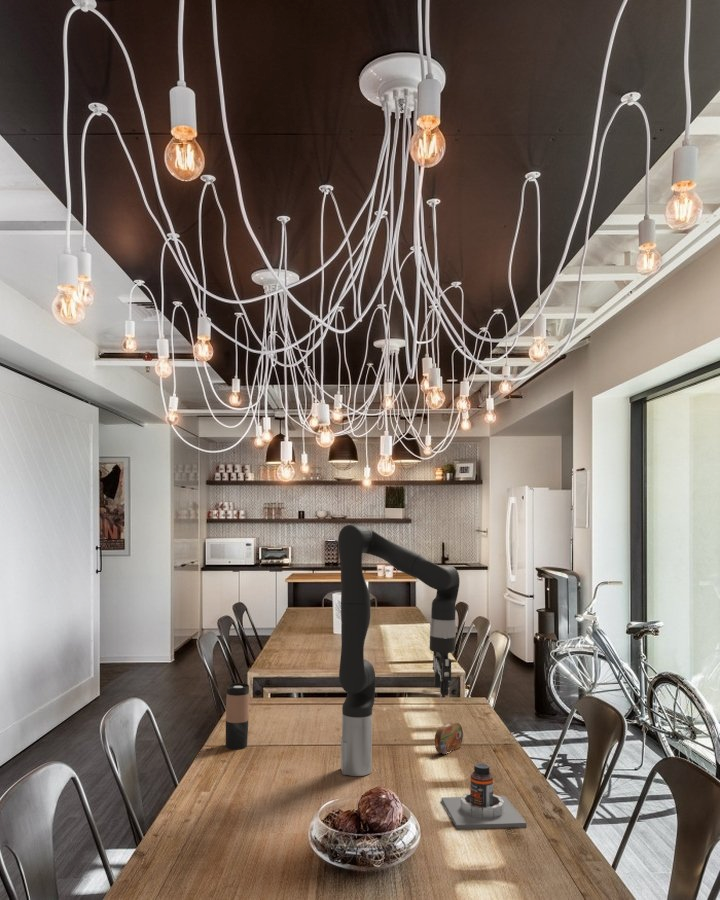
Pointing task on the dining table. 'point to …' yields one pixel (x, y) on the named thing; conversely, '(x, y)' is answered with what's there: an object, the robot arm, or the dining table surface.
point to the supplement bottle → (481, 786)
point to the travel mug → (237, 715)
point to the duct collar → (482, 811)
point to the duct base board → (468, 822)
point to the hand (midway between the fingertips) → (441, 690)
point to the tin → (448, 738)
